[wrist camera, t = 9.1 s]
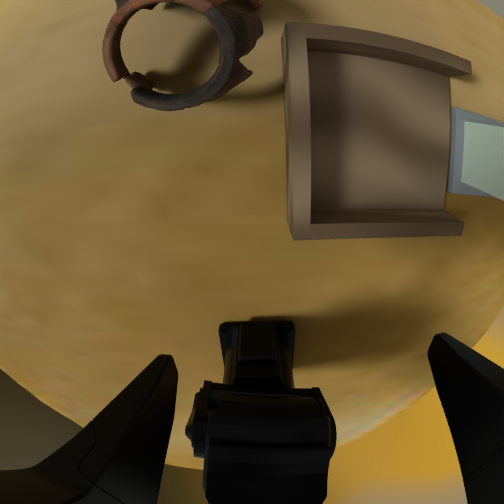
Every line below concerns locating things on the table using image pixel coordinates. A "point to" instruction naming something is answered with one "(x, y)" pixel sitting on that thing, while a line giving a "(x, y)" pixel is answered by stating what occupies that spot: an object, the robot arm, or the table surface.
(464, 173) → the sage block
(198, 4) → the pottery mug
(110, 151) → the table surface
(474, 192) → the slate tile
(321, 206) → the walnut crate
